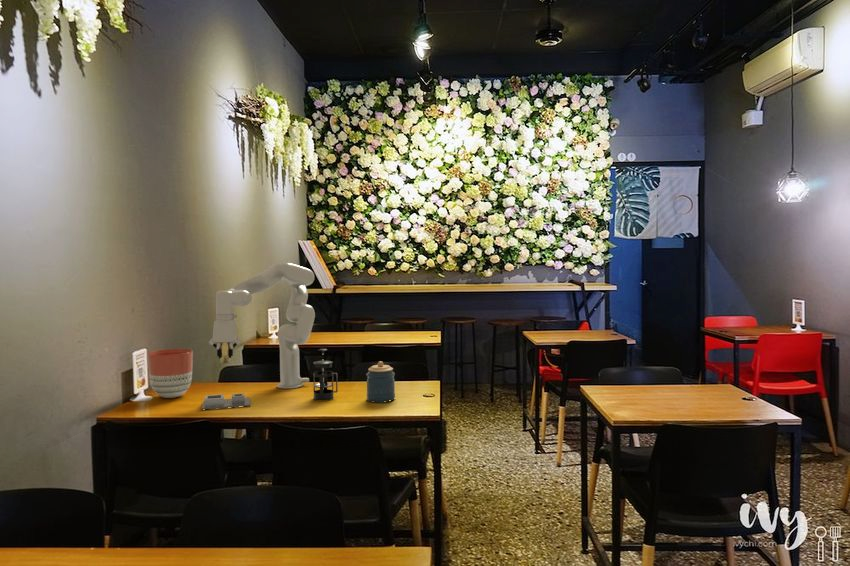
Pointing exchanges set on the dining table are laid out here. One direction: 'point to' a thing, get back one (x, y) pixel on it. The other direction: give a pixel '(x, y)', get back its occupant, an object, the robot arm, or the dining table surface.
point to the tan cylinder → (224, 352)
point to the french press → (323, 380)
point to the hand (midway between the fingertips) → (225, 357)
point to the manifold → (225, 401)
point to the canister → (380, 383)
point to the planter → (170, 371)
